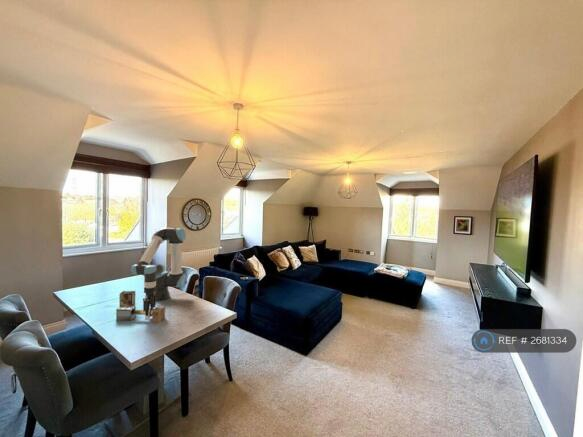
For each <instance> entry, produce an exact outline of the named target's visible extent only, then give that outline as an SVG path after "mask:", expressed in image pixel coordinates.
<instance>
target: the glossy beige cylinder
mask: <svg viewBox="0 0 583 437" xmlns="http://www.w3.org/2000/svg"><path fill="white" fill-rule="evenodd" d="M149 311H150V318H151V316H152V314H153V308H151V307H149ZM134 314H136V315H137V316H138V315H139V316H140V315H142V316H143V315H144V316H145V311H143V309H136V310H135V311H134Z"/></svg>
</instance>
